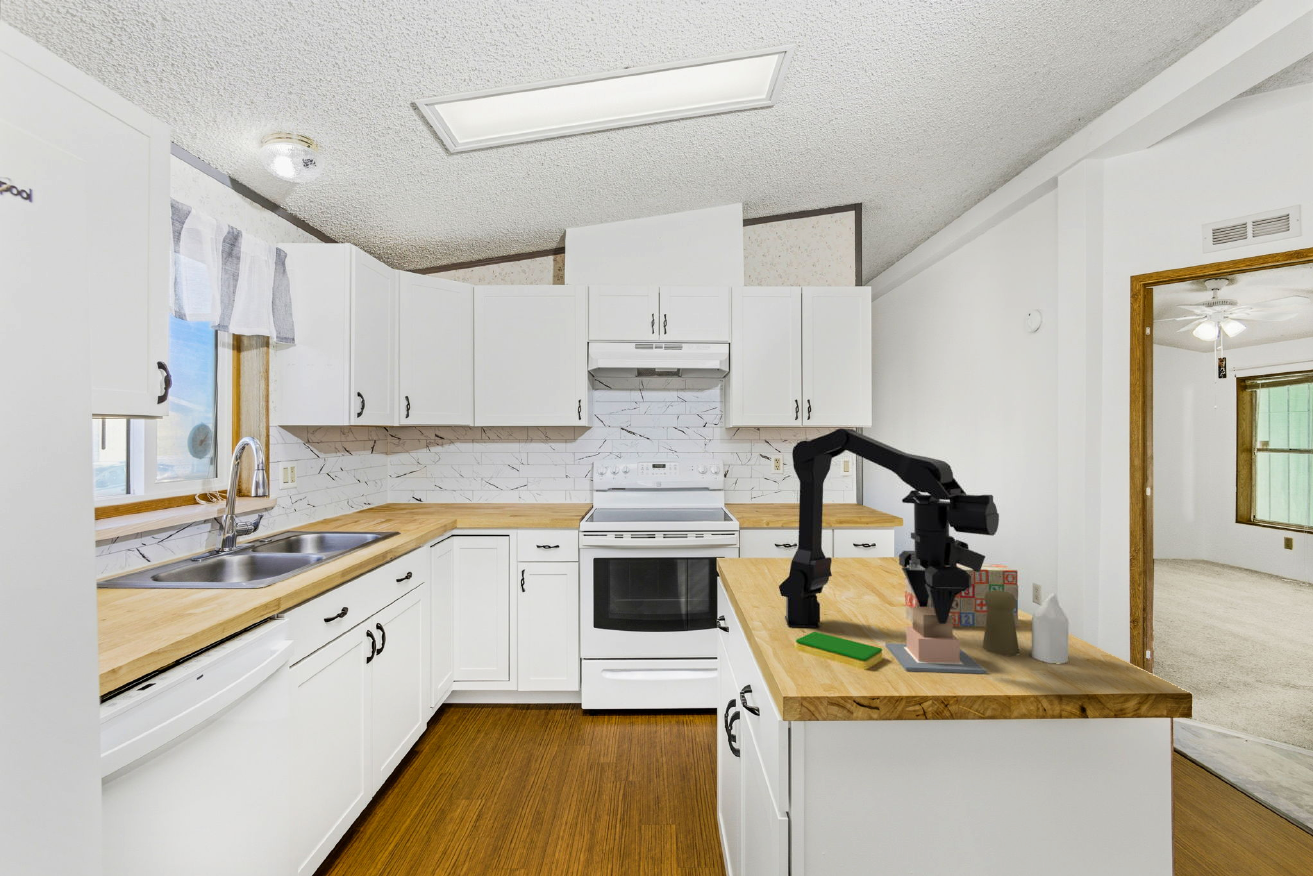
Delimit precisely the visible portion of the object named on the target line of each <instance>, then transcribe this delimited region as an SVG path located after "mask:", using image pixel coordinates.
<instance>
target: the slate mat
mask: <svg viewBox="0 0 1313 876" xmlns="http://www.w3.org/2000/svg"><path fill="white" fill-rule="evenodd" d="M885 648H886V649H887V650H888V651H889V652H890V653H891V655H892V656H893V658H895V659H896V661H897V662H898V663H899V664H900V665H901V667H902V668H903V669H904V670H905V671H906V672H926V673H927V672H929V673H955V674H956V673H958V674H959V673H961V674H982V675H983V674H984V675H986V674H987V671H986V669H985V668H984V667H983V666H982V665H980V664H979V663H978V662H976V660H975V659H973V658H972V657H971V656H969V655H968V653H966V652H965V651H964V650H963V649H961V648H960V647H959V662H960V663H946V662H920V661H918V660H917V659H916V658H915V657H914V656H913V654H912V653H911V652H910V651H909V650H908V649H907V643H896V642H894V643H893V642H892V643H890V642H888V643H887V642H886V643H885Z"/></svg>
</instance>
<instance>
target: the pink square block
mask: <svg viewBox="0 0 1313 876" xmlns="http://www.w3.org/2000/svg"><path fill="white" fill-rule="evenodd" d="M905 631H906V644H907V649H908V650H909V651H910V652H911V653H912V654H913V656H914V657H915V658H916V659H917V660H918V661H920V662H946V663H960V662H959V648H960V639H959V638H958V637H956V636H955V635H954V634H953V638H930V637H922V636H921V635H920V634H919V633H918V632H917V631H915V630H914V629H913V626H906V629H905Z"/></svg>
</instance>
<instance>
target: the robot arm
mask: <svg viewBox="0 0 1313 876" xmlns="http://www.w3.org/2000/svg"><path fill="white" fill-rule="evenodd" d="M846 451H847V452H850V453H852V454H854V455H856V456H858V457H860V458H863V459H865V460H867V461H869V462H872V463H873V464H876V465H877V466H881V467H882V468H884V469H887V470H889V471H890V472H892V473H894V474H895V475H897V477H898V478H899V479H900V480H901V481H902V482H903V483H905V484H906V485H908V486H910V487H911V489H913V490H910V491H909V493H908V494H907V495H906V496H905V497H904V498H902V499H901V502H902V503H903V504H913V513H914V514H913V519H914V520H913V523H914V524H913V528H914V529H913V531H914V532H910V539H912V540H914V550H903V551H901V553H899V555H898V565H899V566H900V567H901V571H902V572H903V573H904V576H905V579H906V578H907V580H908V582H909V584H910V586H911V588H912V591H913V593H914V595H915V597H916V599H917V602H918V604H919V606H920V607H927V604H928V598H929V597H930V600H931V603H932V606H933V608H934V611H935V614H936V617H937V619H938V622H939V623H940V624H946V622H947V619H948V616H949V613H950V610H951V607H952V604H953V601H954V599H955V597H956V595H958V594H959V593H960V592H962V591H966V590H967V588H971V576H970V575H969V574H968V573H967V572H966V571H965V570H963V569H961V568H959V567H957V564H960V565H963V566H965V567H968V568H971V569H973V571H976V572H980V570H981V567H982V564H984V561H985V559H986V555H985V554H982V553H979V552H976V551H974V550H971V549H969V543H967V542H964V541H962V540H958V539H955V538H954V536H951V535H950V528H953V529H954V531H955V532H958V533H964V534H971V535H972V534H973V535H982V536H983V535H985V536H992V537H993V536H994V535H996V533H997V532H998V528H999V523H1000V522H999V521H1000V514H999V512H998V509H997V505H996V504H995V502H994V496H993V494H980V495H979V494H967V493H966V491H965V490H964V488H963V487H962V486H961V485H960V483H959V482H958V481H957V480H956V478H955V477H954V473H953V470H952V468H951V465H950V464H949V463H948V462H946V461H944V460H941V459H936V458H932V457H928V456H922V455H919V454H918V455H917V454H912V453H907V452H905V451H903V450H899V449H897V448H895V447H893V446H890V445H888V444H886V443H883V442H881V441H879V440H877V439H874V438H872V437H870V436H868V435H865V434H862V433H859V432H858V431H857V430H855V429H853V428H847V427H843V428H842V427H840V428H837V429H835V430H833V431H831V432H829V433H827V434H824V435H822V436H821V435H820V436H819V437H816V438H815V437H814V438H812V439H810V440H800V441H799V442H798V443H796V444H795V446H793V448H792V452H791V453H792V454H791V455H792V457H791V458H792V465H793V470H794V472H795V474H796V476H797V479H798V480H799V499H798V500H799V504H798V506H799V507H798V510H799V511H798V539H797V540H798V542H797V544H798V545H797V549H796V551H795V552H794V553H795V554H794V555H793V557H792V559H791V563H790V566H789V567H790V569H789V573H788V577H787V578H786V579H784V580H783V581H782V583H780V584H779V585H778V590H779V593H780V596H781V597H785V615H784V620H785V622H786V624H787V627H789V628H790V627H791V628H819V627H820V622H821V603H820V602H819V600H818V596H817V594H822V591H823V588H824V586H826V585H827V584H828V582H829V579H830V577H832V572H831V571H832V570H831V565H832V557H828V556H827V557H826V554H825V553H824V551H823V548H822V547H823V546H822V543H823V541H822V540H823V539H822V538H823V507H824V506H823V505H824V504H823V503H824V501H823V500H824V482H825V480H826V478H827V476H828V473H829V472H830V470H831V465H832V460H833V458H835V457H838V456H840V455H842V454H843V453H844V452H846ZM923 493H924V494H923ZM926 493H927V494H926Z"/></svg>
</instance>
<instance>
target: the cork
mask: <svg viewBox="0 0 1313 876" xmlns="http://www.w3.org/2000/svg"><path fill="white" fill-rule="evenodd" d="M985 604H986V606H987V607H988V611H987V619H986V626H984V627H985V628H984V634H983V641H982V649H983V650H984V651H986V652H987V653H988V652H989V653H991V654H994V655H998V656H1006V657H1009V656H1010V657H1012V656H1013V657H1014V656H1019V655H1020V647H1019V641H1018V634H1017V629H1016V628H1017V627H1015V621H1014V614H1013V610H1014V609H1015V608H1016V598H1015V596H1014V595H1013V594H1011V593H1009V592H1005V591H1000V590H992V591H988V592H987V593H986V594H985ZM1018 654H1019V655H1018Z"/></svg>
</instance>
